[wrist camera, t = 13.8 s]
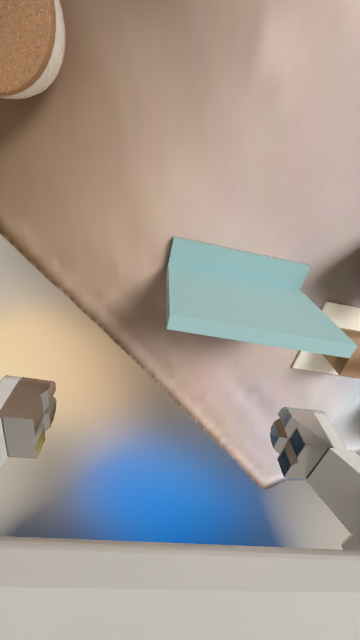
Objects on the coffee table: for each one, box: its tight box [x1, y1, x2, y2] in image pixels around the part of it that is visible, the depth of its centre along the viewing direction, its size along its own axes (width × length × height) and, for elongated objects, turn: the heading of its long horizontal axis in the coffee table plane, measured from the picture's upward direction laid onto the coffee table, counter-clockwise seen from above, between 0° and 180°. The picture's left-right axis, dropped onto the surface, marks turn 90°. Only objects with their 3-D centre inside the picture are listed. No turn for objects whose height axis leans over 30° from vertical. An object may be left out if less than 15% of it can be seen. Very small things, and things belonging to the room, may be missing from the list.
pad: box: [292, 301, 360, 375], centre depth 44 cm, size 12×12×1 cm
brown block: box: [323, 328, 360, 378], centre depth 41 cm, size 5×5×5 cm
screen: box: [166, 236, 357, 358], centre depth 31 cm, size 5×18×14 cm, turn 78°
